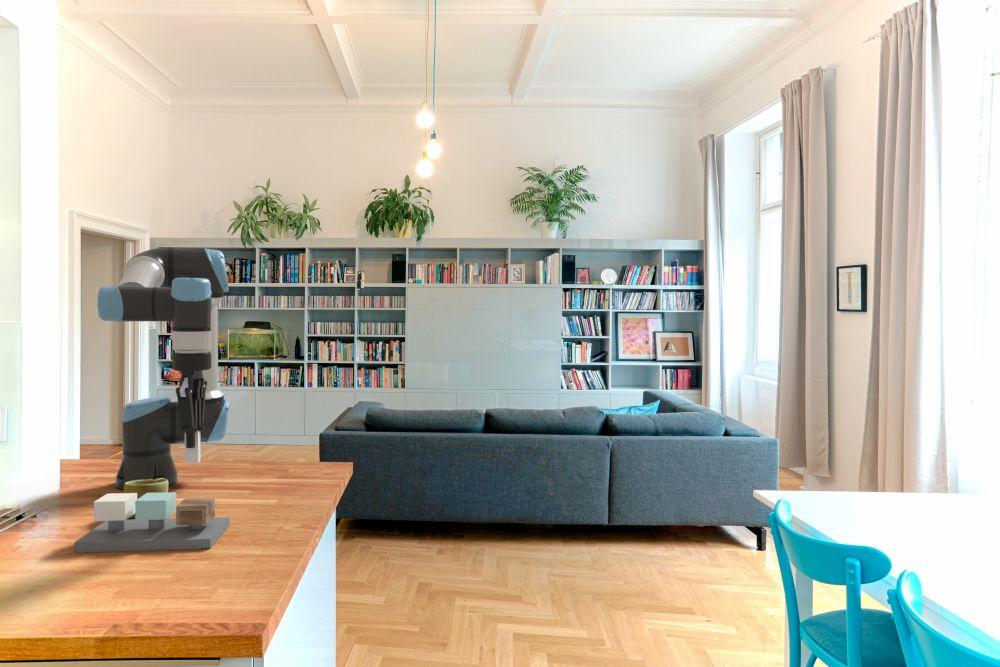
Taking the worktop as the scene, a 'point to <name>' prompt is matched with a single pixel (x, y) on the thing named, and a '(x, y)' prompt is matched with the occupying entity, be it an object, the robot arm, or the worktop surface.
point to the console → (151, 535)
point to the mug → (146, 487)
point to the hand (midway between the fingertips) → (192, 462)
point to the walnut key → (195, 511)
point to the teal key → (155, 506)
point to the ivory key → (115, 507)
